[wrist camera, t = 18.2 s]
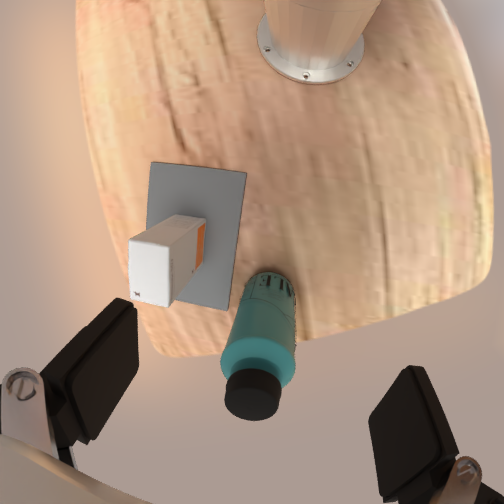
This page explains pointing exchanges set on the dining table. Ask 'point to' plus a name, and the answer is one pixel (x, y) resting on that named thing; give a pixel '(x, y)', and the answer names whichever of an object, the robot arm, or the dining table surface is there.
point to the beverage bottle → (260, 348)
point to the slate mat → (217, 222)
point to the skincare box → (165, 259)
